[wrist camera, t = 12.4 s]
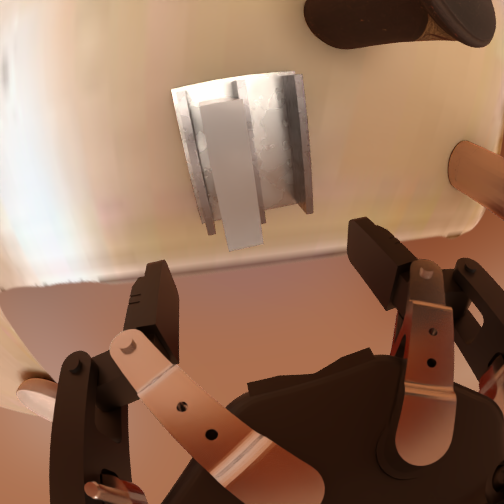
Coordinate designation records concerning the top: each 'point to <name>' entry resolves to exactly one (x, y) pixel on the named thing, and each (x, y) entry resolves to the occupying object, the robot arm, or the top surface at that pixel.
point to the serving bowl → (38, 396)
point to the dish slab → (232, 170)
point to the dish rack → (252, 140)
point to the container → (400, 21)
